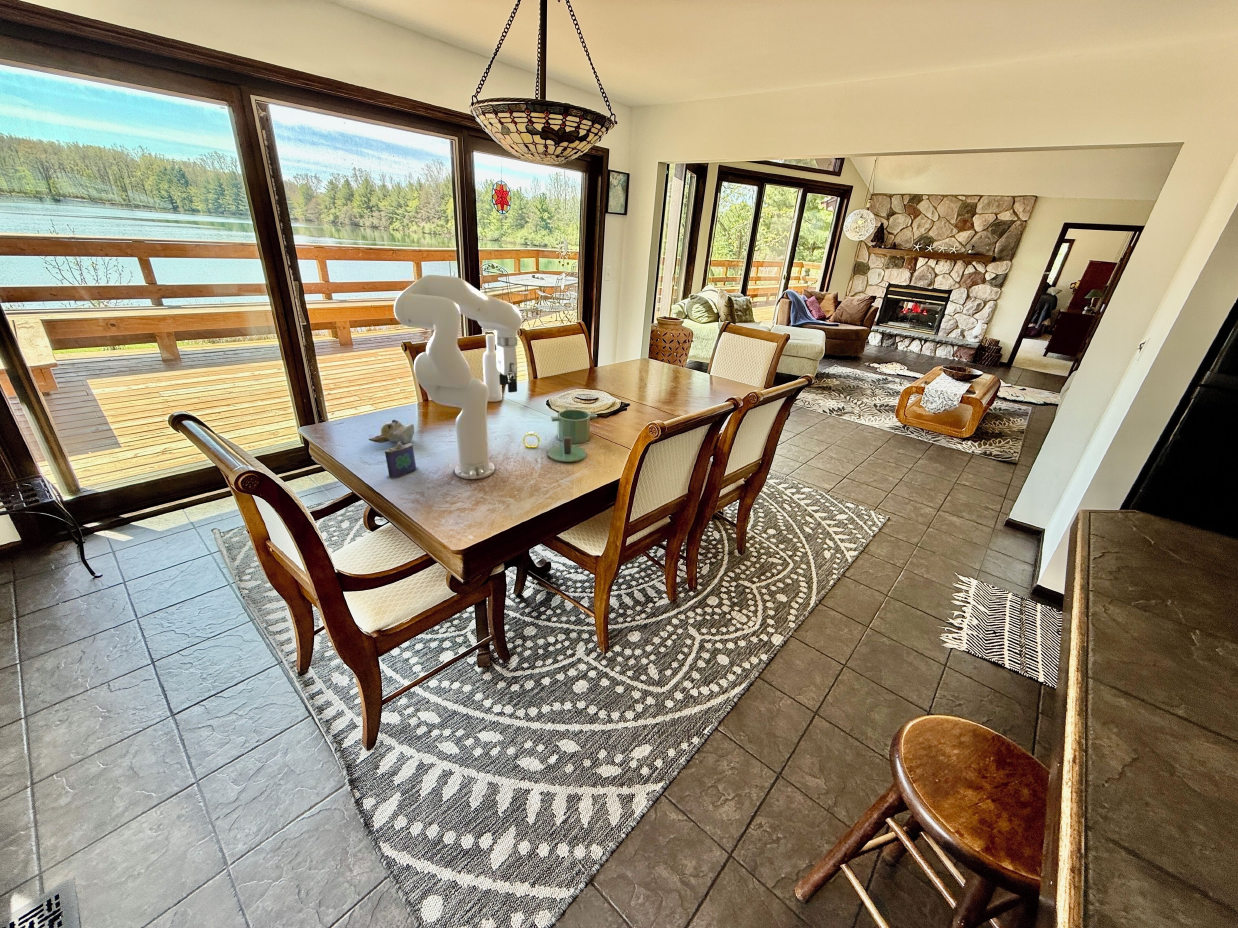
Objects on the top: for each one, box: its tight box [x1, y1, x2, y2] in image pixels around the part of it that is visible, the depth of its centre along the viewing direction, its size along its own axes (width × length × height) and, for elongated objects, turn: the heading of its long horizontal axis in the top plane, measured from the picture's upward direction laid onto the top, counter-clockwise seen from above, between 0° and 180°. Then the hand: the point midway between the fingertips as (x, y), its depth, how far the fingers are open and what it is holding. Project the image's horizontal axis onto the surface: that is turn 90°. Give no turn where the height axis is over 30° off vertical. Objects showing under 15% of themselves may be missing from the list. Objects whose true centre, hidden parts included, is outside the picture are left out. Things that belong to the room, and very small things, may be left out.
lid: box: [547, 436, 587, 463], centre depth 173 cm, size 14×14×7 cm
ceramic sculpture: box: [368, 419, 415, 444], centre depth 175 cm, size 11×9×15 cm
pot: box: [550, 408, 598, 445], centre depth 189 cm, size 13×18×10 cm
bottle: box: [482, 333, 503, 403], centre depth 220 cm, size 8×8×30 cm
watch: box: [522, 430, 541, 449], centre depth 178 cm, size 6×3×6 cm, turn 90°
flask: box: [384, 441, 417, 479], centre depth 153 cm, size 9×3×11 cm, turn 144°
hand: (508, 388), depth 176 cm, fingers open, 9 cm apart
